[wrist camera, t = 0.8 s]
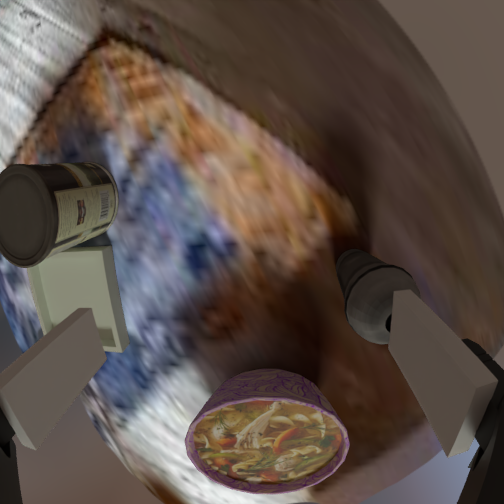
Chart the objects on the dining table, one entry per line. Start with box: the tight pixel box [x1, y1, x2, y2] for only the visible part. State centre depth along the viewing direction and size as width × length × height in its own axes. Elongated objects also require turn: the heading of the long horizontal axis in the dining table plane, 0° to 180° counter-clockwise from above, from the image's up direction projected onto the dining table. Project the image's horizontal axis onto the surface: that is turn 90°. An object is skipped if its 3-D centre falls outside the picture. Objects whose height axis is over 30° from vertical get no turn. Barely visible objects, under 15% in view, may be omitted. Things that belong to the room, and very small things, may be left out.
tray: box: [27, 245, 130, 353], centre depth 40 cm, size 14×14×3 cm
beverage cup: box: [336, 249, 421, 344], centre depth 29 cm, size 7×7×20 cm
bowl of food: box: [185, 369, 349, 494], centre depth 38 cm, size 20×20×12 cm
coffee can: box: [0, 162, 118, 268], centre depth 31 cm, size 10×10×14 cm
